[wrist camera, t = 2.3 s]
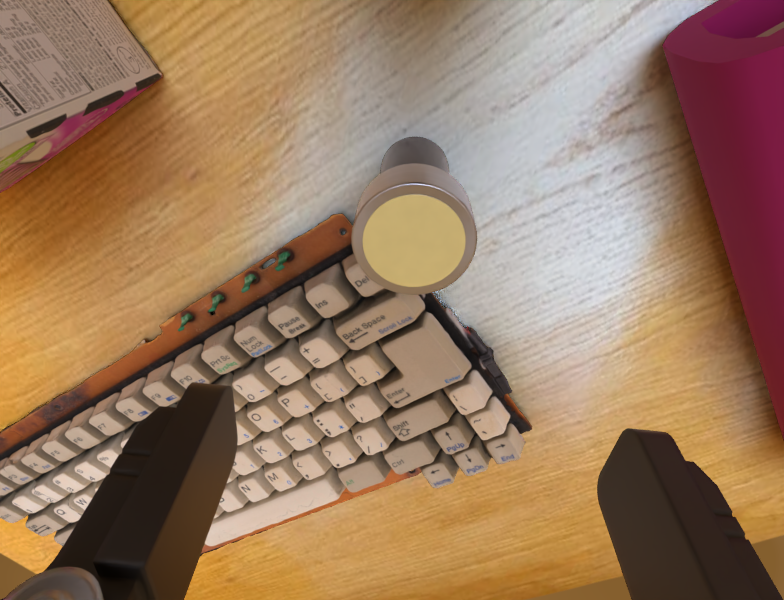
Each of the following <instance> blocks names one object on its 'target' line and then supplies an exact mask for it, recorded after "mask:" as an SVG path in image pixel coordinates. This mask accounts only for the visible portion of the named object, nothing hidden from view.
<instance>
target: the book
mask: <svg viewBox="0 0 784 600" xmlns="http://www.w3.org/2000/svg"><path fill="white" fill-rule="evenodd" d="M662 46H663V49H664V52H665V55H666V59H667V62H668V65H669V68H670V72H671V75H672V78H673V81H674V85H675V88H676V91H677V95H678V98H679V101H680V104H681V108H682V111H683V114H684V117H685V121H686V124H687V127H688V130H689V134H690V137H691V140H692V143H693V147H694V150H695V153H696V156H697V160H698V163H699V166H700V169H701V173H702V176H703V179H704V182H705V186H706V189H707V192H708V195H709V199H710V202H711V205H712V208H713V212H714V215H715V218H716V221H717V225H718V228H719V231H720V234H721V238H722V241H723V244H724V247H725V251H726V254H727V257H728V260H729V264H730V267H731V270H732V273H733V277H734V280H735V283H736V287H737V290H738V293H739V296H740V300H741V303H742V306H743V309H744V313H745V316H746V319H747V322H748V326H749V329H750V332H751V335H752V339H753V342H754V345H755V348H756V352H757V355H758V358H759V361H760V365H761V368H762V371H763V374H764V378H765V381H766V384H767V387H768V391H769V394H770V397H771V400H772V404H773V407H774V410H775V413H776V417H777V420H778V423H779V426H780V430H781V433H782V436H783V439H784V0H719V1H717V2H715V3H714V4H712V5H710V6H708V7H707V8H705V9H703V10H702V11H700V12H698V13H697V14H695V15H693V16H691V17H690V18H688V19H686V20H685V21H684V22H683V23H682V24H680V25H679V26H678V27H677V28H676V29H675V30H674V31H672V32H671V33H670V34H669V35H668V37H667V38H666V40H665V42H664V44H663V45H662Z"/></svg>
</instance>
